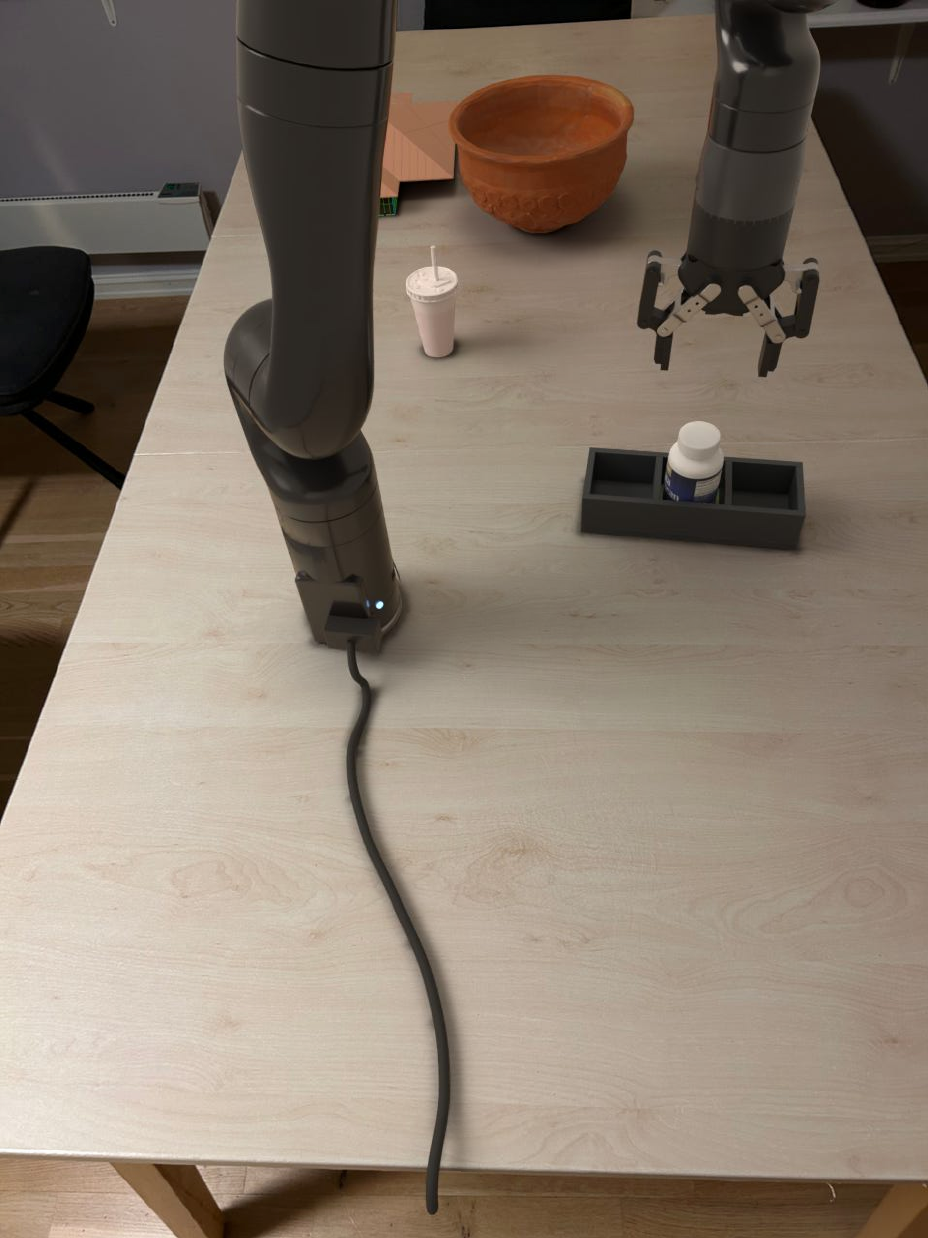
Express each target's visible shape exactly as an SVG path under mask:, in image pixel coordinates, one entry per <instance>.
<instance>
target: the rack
mask: <svg viewBox="0 0 928 1238" xmlns="http://www.w3.org/2000/svg"><path fill="white" fill-rule="evenodd" d="M588 448H589V449H588V453H587V454H588V455H587V462H586V468H585V475H584V481H583V482H584V483H583V490H582V496H581V513H580V514H581V515H580V533H588V534H598V535H599V534H600V535H601V534H602V535H612V536H623V537H624V536H625V537H637V538H645V539H646V538H648V539H658V540H659V539H660V540H672V541H684V542H694V543H695V542H697V543H706V544H718V545H729V546H743V547H754V548H765V549H777V550H789V551H796V548H797V545H798V542H799V539H800V536H801V533H802V529H803V527H804V523H805V520H806V516H807V512H806V494H805V493H806V492H805V476H804V462H803V461H795V460H794V461H793V460H780V459H767V458H766V459H764V458H750V457H737V456H724V462H723V468H722V473H721V477H720V482H719V487H718V492H717V497H716V501H715V504H710V503H697V502H685V501H672V500H662V497H663V490H664V483H665V475H666V468H667V462H668V456H669V452H667V451H666V452H664V451H651V450H637V449H636V450H635V449H625V448H624V449H622V448H609V447H608V448H607V447H593V446H589V447H588Z"/></svg>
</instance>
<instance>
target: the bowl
mask: <svg viewBox="0 0 928 1238" xmlns="http://www.w3.org/2000/svg"><path fill="white" fill-rule="evenodd" d="M634 121H635V107H634V105H633V103H632V101H631V100H630V98H629V97H628V96H627V95H626V94H624V93H623V92H622V91H621V90H620V89H618V88H616V87H615V86H613V85H611V84H608V83H606V82H602V81H599V80H597V79H592V78H587V77H583V76H576V75H566V74H565V75H564V74H538V75H537V74H535V75H534V74H533V75H526V76H520V77H514V78H510V79H505V80H502V81H498V82H493V83H491V84H488V85H486V86H484V87H482V88H480V89H477V90H475V91H474V92H473V93H470V95H468V96H466V97H465V98H464V99H462V100H461V101H460V102H459V103H458V104H457V106H456V107H455V108H454V110H453V112H452V113H451V115H450V117H449V121H448V129H449V133H450V136H451V138H452V140H453V141H454V142H455V145H456V146H457V147H456V148H457V152H458V167H459V173H460V177H461V179H462V182H463V184H464V187H465V188H466V189H467V191H468V193H469V196H470V197H471V199H472V200H473V202H474V203H475V204H476V205H477V206H478V207H479V209H481V210H482V211H483V212H485V213H487V214H489V215H490V216H492V218H493V219H496V220H497V221H499V222H502V223H504V224H507V225H508V226H510V227H513V228H518V229H520V230H522V231H523V232H524V233H525V232H526V233H529V234H530V233H531V234H547V233H550V232H555V231H558V230H560V229H562V228H563V227H564V226H567V225H571V224H576V223H578V222H580V221H582V220H583V219H584V218H586V216H588V215H591V214H592V213H593V212H595V211H596V210H597V209H599V207H601V205H602V204H604V202H605V201H607V199H609V197H611V195H612V194H613V192H614V191H615V190H616V187H617V184H618V182H619V181H620V178H621V175H622V173H623V172H624V169H625V165H626V163H627V159H628V151H627V150H628V149H627V147H628V135H629V130H630V129H631V128H632V126H633V124H634Z"/></svg>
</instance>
